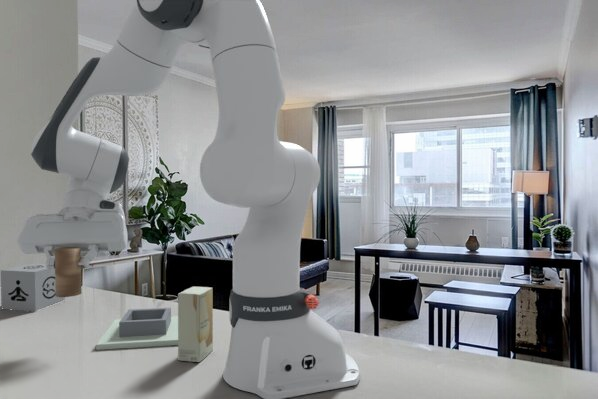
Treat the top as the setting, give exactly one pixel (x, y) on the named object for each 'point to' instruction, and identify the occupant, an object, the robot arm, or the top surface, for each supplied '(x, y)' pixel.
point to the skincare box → (195, 323)
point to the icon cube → (28, 287)
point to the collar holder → (141, 330)
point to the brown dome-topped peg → (67, 271)
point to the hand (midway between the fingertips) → (67, 267)
